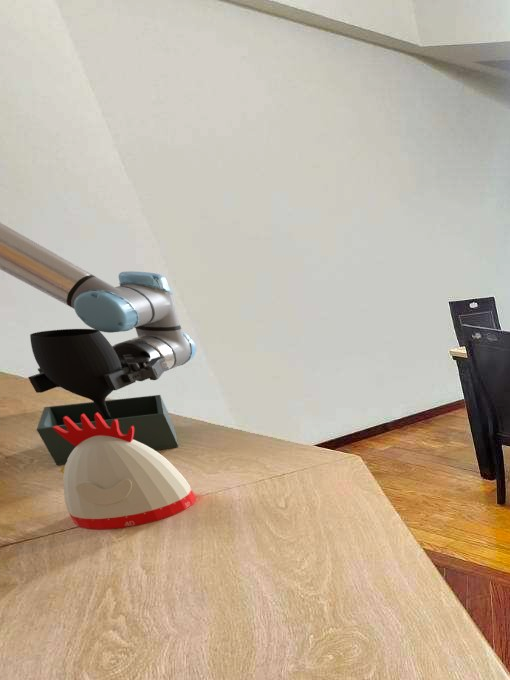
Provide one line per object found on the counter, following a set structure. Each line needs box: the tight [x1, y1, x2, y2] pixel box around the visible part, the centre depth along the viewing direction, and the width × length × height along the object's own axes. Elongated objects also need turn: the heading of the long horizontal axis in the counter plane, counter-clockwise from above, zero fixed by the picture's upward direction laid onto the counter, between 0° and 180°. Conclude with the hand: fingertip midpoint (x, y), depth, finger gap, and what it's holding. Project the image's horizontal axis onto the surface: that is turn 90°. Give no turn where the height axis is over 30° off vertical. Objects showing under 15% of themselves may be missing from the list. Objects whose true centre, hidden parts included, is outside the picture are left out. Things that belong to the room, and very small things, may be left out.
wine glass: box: [29, 328, 122, 420], centre depth 109 cm, size 10×10×20 cm
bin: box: [36, 394, 179, 466], centre depth 113 cm, size 17×17×7 cm
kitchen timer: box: [53, 412, 196, 530], centre depth 87 cm, size 14×14×15 cm
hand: (72, 383), depth 105 cm, fingers closed on wine glass, 10 cm apart
